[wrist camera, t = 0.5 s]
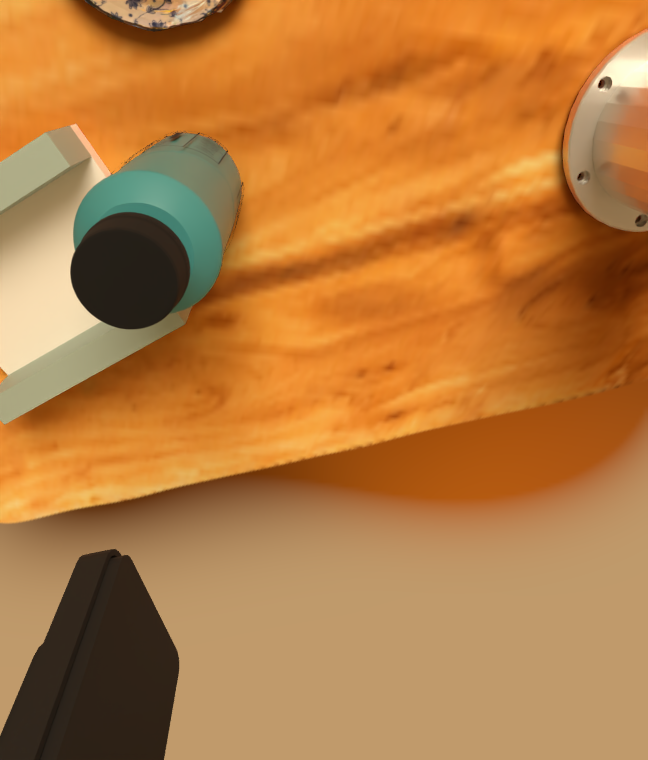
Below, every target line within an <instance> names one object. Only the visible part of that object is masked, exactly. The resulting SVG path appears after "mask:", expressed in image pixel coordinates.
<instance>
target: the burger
mask: <svg viewBox="0 0 648 760" xmlns="http://www.w3.org/2000/svg"><path fill="white" fill-rule="evenodd" d="M85 1H86V2H87V3H88V4H90V5H91V6H93V7H94V8H96V9H97V10H98V11H100V12H102V13H103V14H105V15H107V16H108V17H110V18H112V19H115V20H118V21H120V22H123V23H126V24H129V25H132V26H135V27H138V28H141V29H144V30H148V31H160V30H165V29H169V28H173V27H177V26H181V25H186V24H190V23H196V22H200V21H203V20H204V19H205V18H206V17H207V16H210V15H212V14H214V13H216V12H220V13H221V12H222V11H223V10H224V9H225V8H226V7H227V6H228V5H229V4H230V3H231V2H232V0H85Z"/></svg>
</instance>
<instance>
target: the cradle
mask: <svg viewBox="0 0 648 760" xmlns="http://www.w3.org/2000/svg"><path fill="white" fill-rule="evenodd" d="M110 174H111V173H110V172H109V170H108V169H107V167H106V166H105V164H104V163H103V162H102V160H101V159H100V157H99V156H98V154H97V153H96V152H95V150H94V149H93V147H92V146H91V144H90V143H89V142H88V140H87V139H86V137H85V136H84V134H83V133H82V132H81V130H80V129H79V127H78V126H77V124H74V125H70V126H67V127H63V128H59V129H56V130H52V131H48V132H45V133H44V134H42V135H41V136H39V137H38V138H36V139H35V140H33V141H32V142H30V143H29V144H27V145H26V146H24V147H23V148H21V149H20V150H18V151H17V152H15V153H14V154H12V155H11V156H9V157H8V158H6V159H5V160H3V161H2V162H0V367H1V368H2V369H3V370H4V372H5V373H6V374H7V375H8V376H7V377H6V378H5V379H4V380H3V382H2V383H1V384H0V421H1V422H2V423H3V424H4V425H5V424H7V423H8V422H10V421H12V420H14V419H16V418H17V417H19V416H21V415H23V414H25V413H26V412H28V411H30V410H32V409H34V408H35V407H37V406H39V405H41V404H43V403H44V402H46V401H48V400H50V399H52V398H53V397H55V396H57V395H59V394H61V393H62V392H64V391H66V390H68V389H70V388H71V387H73V386H75V385H77V384H79V383H80V382H82V381H84V380H86V379H88V378H89V377H91V376H93V375H95V374H97V373H98V372H100V371H102V370H104V369H105V368H107V367H109V366H111V365H113V364H114V363H116V362H118V361H120V360H122V359H123V358H125V357H127V356H129V355H131V354H132V353H134V352H136V351H138V350H140V349H141V348H143V347H145V346H147V345H149V344H150V343H152V342H154V341H156V340H158V339H159V338H161V337H163V336H165V335H167V334H168V333H170V332H172V331H174V330H176V329H177V328H179V327H181V326H183V325H185V324H186V321H187V319H188V316H189V314H190V311H191V309H192V306H191V307H189V308H187V309H185V310H183V311H180V312H177V313H172V314H168V316H166V317H165V318H164V319H163V320H161V321H160V322H158V323H156V324H154V325H152V326H149V327H146V328H142V329H120V328H116V327H113V326H110V325H108V324H106V323H104V322H102V321H100V320H98V319H97V318H95V317H94V316H93V315H92V314H90V313H89V312H88V311H87V310H86V309H85V308H84V306H83V305H82V304H81V302H80V301H79V300H78V298H77V296H76V294H75V292H74V289H73V287H72V283H71V277H70V267H71V261H72V257H73V254H74V252H75V248H74V243H73V227H74V220H75V216H76V213H77V210H78V207H79V205H80V203H81V202H82V200H83V198H84V197H85V195H86V194H87V193H88V191H89V190H90V189H91V188H92V187H93V186H94V185H96V184H97V183H99V182H100V181H101V180H103V179H104V178H106V177H108V176H110ZM111 175H112V174H111Z"/></svg>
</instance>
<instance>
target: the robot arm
mask: <svg viewBox="0 0 648 760" xmlns="http://www.w3.org/2000/svg"><path fill="white" fill-rule="evenodd" d="M600 80H601V81H602V84H601V86H600V87H599V88H598V83H599V81H600ZM562 152H563V168H564V172H565V176H566V180H567V184H568V187H569V189H570V191H571V192H572V194H573V196H574V198H575V200H576V201H577V202H578V204H579V205H580V206H581V207H582V208H583V209H584V211H585V212H586V213H588V214H589V215H591V216H592V217H593V218H595V219H596V220H598V221H600V222H602V223H604V224H606V225H608V226H610V227H613V228H617V229H620V230H624V231H633V232H644V231H648V29H645V30H643V31H641V32H640V33H638V34H636V35H634V36H633V37H631V38H629V39H627V40H626V41H624V42H623V43H622V44H621V45H619V46H618V47H617V48H616V49H615V50H613V51H612V52H611V53H610V54H608V55H607V56H606V58H605V59H604V60H603V61H602V62H601V63H600V64H599V65H598V66H597V67H596V69H595V70H594V71H593V72H592V73H591V75H590V76H589V78H588V79H587V81H586V82H585V84H584V85H583V87H582V88H581V90H580V92H579V94H578V96H577V98H576V100H575V102H574V105H573V107H572V109H571V111H570V115H569V118H568V121H567V125H566V128H565V133H564V141H563V150H562ZM580 173H581V177H580V178H579V179H577V177H578V175H579V174H580ZM637 217H638V218H637ZM636 218H637V219H636ZM178 674H179V657H178V652H177V650H176V647H175V646H174V644H173V642H172V639H171V638H170V636H169V634H168V632H167V629H166V627H165V625H164V623H163V621H162V619H161V617H160V615H159V614H158V611H157V610H156V607H155V605H154V603H153V601H152V599H151V597H150V595H149V593H148V591H147V589H146V587H145V585H144V583H143V581H142V579H141V577H140V575H139V573H138V572H137V570H136V567H135V565H134V563H133V561H132V560H131V558H130V557H129V556H128V555H124V556H121V554H120V553H119V551H117V550H116V549H111V550H107V551H101V552H96V553H91V554H87V555H83V556H81V557H80V558H79V560H78V561H77V563H76V566H75V568H74V570H73V573H72V575H71V578H70V580H69V583H68V585H67V588H66V590H65V592H64V595H63V597H62V600H61V602H60V604H59V607H58V609H57V612H56V614H55V616H54V619H53V621H52V624H51V626H50V629H49V631H48V633H47V636H46V638H45V641H44V643H43V644H42V645H41V646H40V647H39V648H38V650H37V652H36V653H35V655H34V657H33V659H32V662H31V664H30V667H29V669H28V671H27V674H26V676H25V678H24V681H23V683H22V686H21V688H20V690H19V692H18V695H17V697H16V700H15V702H14V704H13V707H12V709H11V712H10V714H9V716H8V719H7V721H6V724H5V726H4V728H3V731H2V733H1V736H0V760H164V756H165V750H166V744H167V738H168V732H169V727H170V721H171V714H172V708H173V703H174V697H175V691H176V685H177V680H178Z"/></svg>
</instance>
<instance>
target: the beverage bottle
mask: <svg viewBox="0 0 648 760" xmlns="http://www.w3.org/2000/svg"><path fill="white" fill-rule="evenodd" d="M175 133H176V132H175ZM173 134H174V133H173ZM198 134H200V133H198ZM198 134H190V133H183V132H182V133H176V134H174V135H172V136H166V137H167V138H165V137H164V138H165V139H163V140H161V141H160V142H158V143H157V141H156V144H154V146H152V147H151V148H149V147H148V148H149V149H148V150H146V151H144V152H143V153H142V154H140V155H139V156H137V157H136V158H134V159H133V160H132V161H130V162H129V161H126V162H129V163H127V164H126V162H125V164H126V165H124V166H123V167H122V168H121V169H120V170H119V171H118V172H116V173H115V174H112V173H111V174H112V175H111V174H110V176H108V177H106V178H104V179H103V180H101V181H100V182H99V183H97V184H96V185H94V186H93V187H92V188H91V189H90V190H89V191H88V193H87V194H86V195H85V197H84V198H83V200H82V202H81V203H80V205H79V207H78V210H77V213H76V216H75V220H74V227H73V243H74V248H75V252H74V254H73V257H72V261H71V267H70V277H71V283H72V287H73V289H74V292H75V294H76V296H77V298H78V300H79V301H80V302H81V304H82V305H83V306H84V308H85V309H86V310H87V311H88V312H89V313H90V314H92V315H93V316H94V317H95V318H97V319H98V320H100V321H102V322H104V323H106V324H108V325H110V326H113V327H116V328H120V329H142V328H146V327H149V326H152V325H154V324H156V323H158V322H160V321H161V320H163V319H164V318H165V317H166V316H168V314H172V313H177V312H180V311H183V310H185V309H187V308H189V307H191V306H193V305H194V304H196V303H197V302H199V301H200V300H201V299H202V298H203V297H205V295H206V294H207V293H208V292H209V291H210V290H211V288H212V287H213V285H214V283H215V282H216V279H217V277H218V275H219V272H220V269H221V266H222V260H223V254H224V253H225V252H224V251H225V248H226V245H227V242H228V239H229V237H230V235H231V232H232V228H233V225H234V221H235V218H236V214H237V211H238V207H239V208H240V206H239V205H241V204H242V202H241V201H242V200H241V201H240V199H241V194H242V193H241V187H242V185H241V180H240V175H239V172H238V169H237V167H236V165H235V163H234V161H233V160H232V158H231V157H230V156H229V154H228V153H227V152H228V150H227V149H226V150H227V151H225V150H224V149H223V148H222V147H221V146H220V144H219V143H218V144H219V145H218V144H217V143H216V141H213V139H212V140H210V138H209V137H208V138H209V139H208V138H206V137H204V136H201V135H198ZM201 134H202V133H201ZM167 135H168V134H167ZM204 135H205V134H204ZM214 140H215V139H214ZM158 141H159V140H158ZM154 142H155V141H154ZM217 142H218V141H217ZM151 145H152V143H151ZM151 145H150V146H151ZM221 145H222V144H221ZM148 146H149V145H148ZM146 147H147V146H146ZM146 147H145V148H146ZM143 149H144V148H143ZM143 149H142V150H143ZM140 152H141V150H140ZM135 155H137V153H135ZM133 156H134V155H133ZM133 156H132V157H133ZM132 157H130V158H132ZM130 158H129V159H130ZM130 160H131V159H130ZM122 163H123V162H122ZM113 172H114V171H113ZM242 184H243V182H242ZM243 187H244V185H243ZM243 187H242V189H243ZM243 197H244V195H243ZM240 202H241V203H240ZM239 210H241V209H239ZM239 214H240V213H239ZM239 214H237V217H238V215H239ZM238 218H239V217H238ZM238 218H237V220H238ZM236 224H237V222H236ZM235 227H236V226H235ZM232 238H233V237H232ZM230 243H231V242H230Z"/></svg>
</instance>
